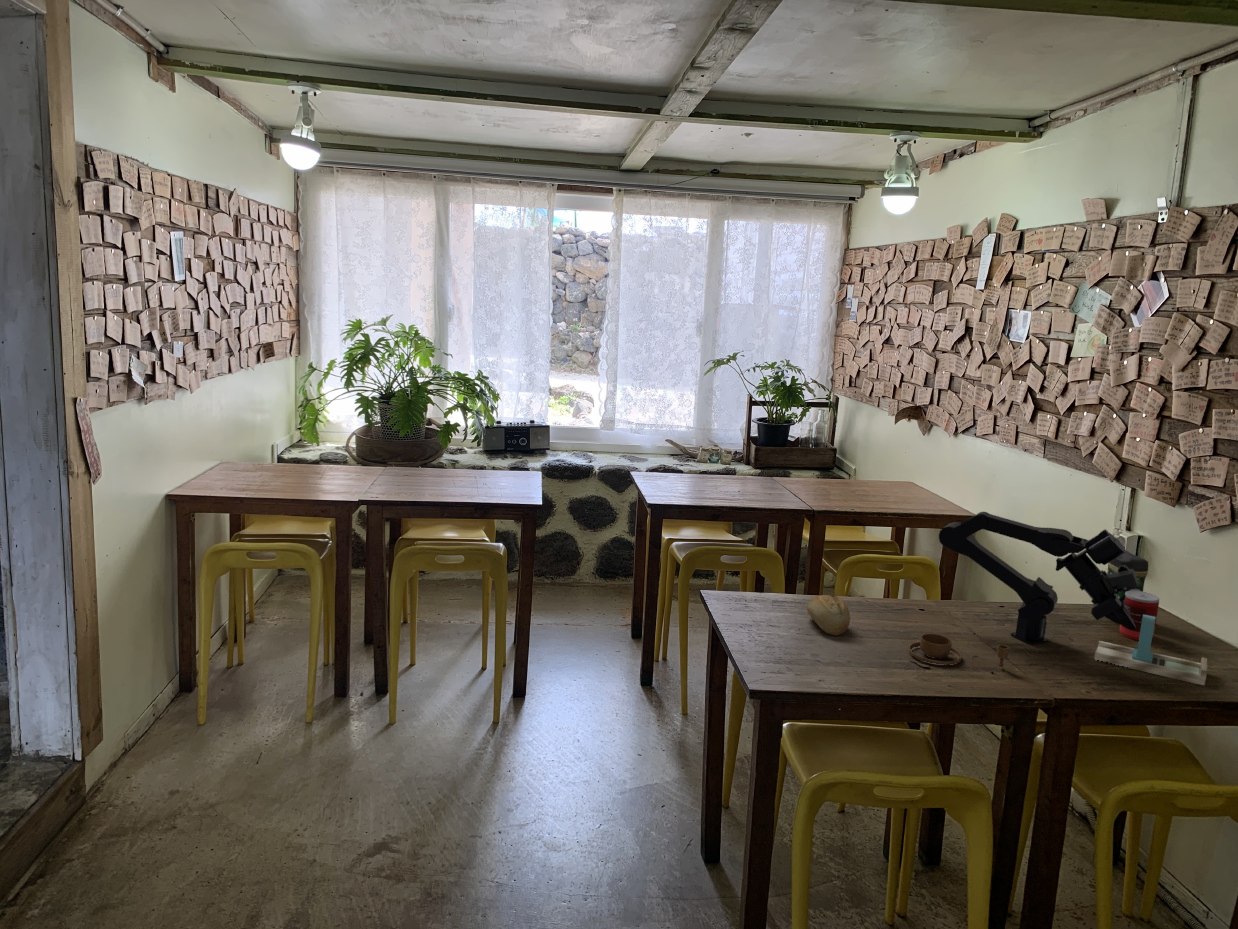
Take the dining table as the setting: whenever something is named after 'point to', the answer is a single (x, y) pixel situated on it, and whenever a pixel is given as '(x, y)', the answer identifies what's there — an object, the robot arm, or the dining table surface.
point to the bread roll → (829, 613)
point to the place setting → (946, 649)
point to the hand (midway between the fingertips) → (1134, 629)
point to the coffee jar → (1132, 563)
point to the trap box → (1154, 663)
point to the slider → (1145, 640)
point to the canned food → (1139, 611)
